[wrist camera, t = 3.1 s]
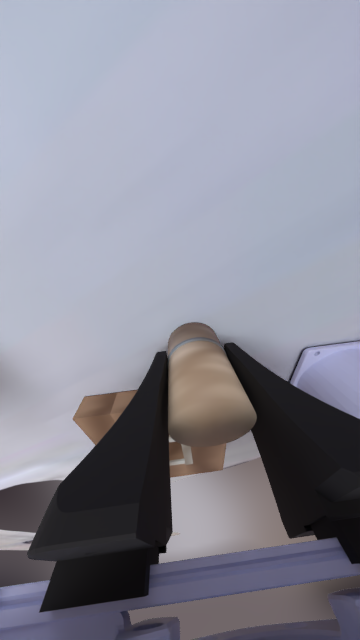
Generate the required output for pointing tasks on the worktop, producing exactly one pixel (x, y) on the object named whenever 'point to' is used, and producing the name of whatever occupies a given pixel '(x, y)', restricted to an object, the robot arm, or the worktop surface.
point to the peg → (204, 390)
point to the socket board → (184, 460)
